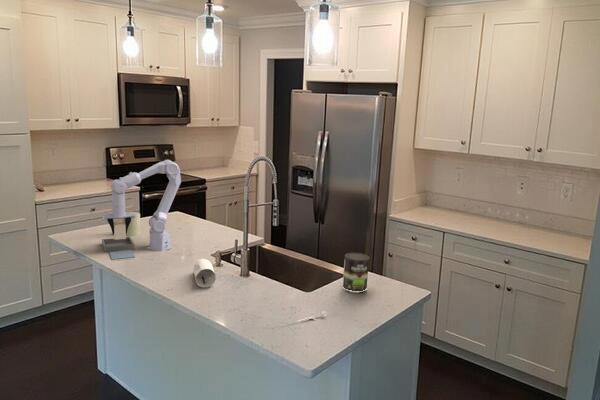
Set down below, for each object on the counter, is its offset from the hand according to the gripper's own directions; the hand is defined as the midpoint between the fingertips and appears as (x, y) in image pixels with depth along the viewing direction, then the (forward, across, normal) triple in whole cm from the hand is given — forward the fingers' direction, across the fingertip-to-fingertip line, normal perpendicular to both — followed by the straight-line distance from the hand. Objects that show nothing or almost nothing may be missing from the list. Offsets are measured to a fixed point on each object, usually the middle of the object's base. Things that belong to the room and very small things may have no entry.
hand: (119, 233), depth 225 cm
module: (+2, 0, 0) cm, 2 cm away
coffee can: (+10, -83, +76) cm, 113 cm away
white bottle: (+10, -27, +46) cm, 54 cm away
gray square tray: (+9, 0, -8) cm, 12 cm away
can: (+10, -9, -27) cm, 30 cm away
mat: (+9, 0, +6) cm, 11 cm away
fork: (+10, -49, +94) cm, 107 cm away
